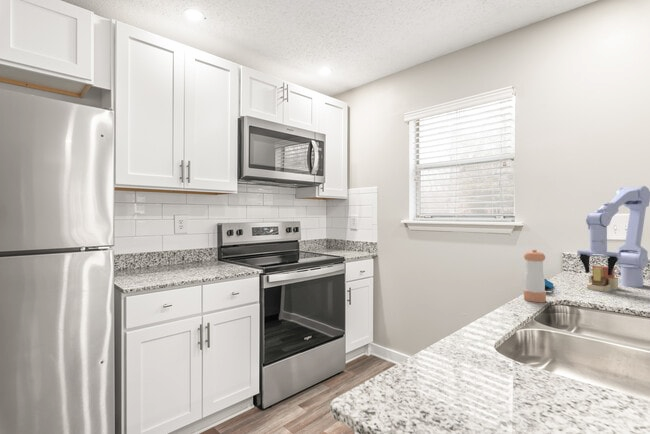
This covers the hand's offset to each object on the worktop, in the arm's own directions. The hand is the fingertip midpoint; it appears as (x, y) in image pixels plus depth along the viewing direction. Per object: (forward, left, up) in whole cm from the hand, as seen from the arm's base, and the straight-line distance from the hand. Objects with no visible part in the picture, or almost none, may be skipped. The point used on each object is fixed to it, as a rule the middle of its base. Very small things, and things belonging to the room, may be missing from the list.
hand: (598, 273), depth 149 cm
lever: (+16, -17, -8) cm, 25 cm away
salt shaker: (+36, -11, -8) cm, 38 cm away
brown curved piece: (-4, 0, -7) cm, 8 cm away
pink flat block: (-6, 0, -3) cm, 7 cm away
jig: (-4, 0, -7) cm, 9 cm away
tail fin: (0, 0, -3) cm, 3 cm away
